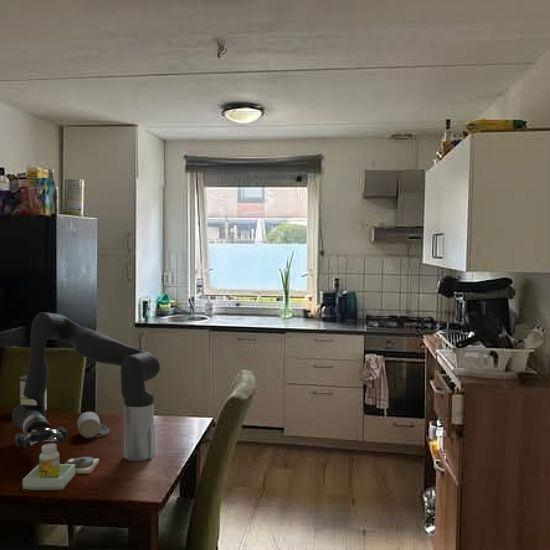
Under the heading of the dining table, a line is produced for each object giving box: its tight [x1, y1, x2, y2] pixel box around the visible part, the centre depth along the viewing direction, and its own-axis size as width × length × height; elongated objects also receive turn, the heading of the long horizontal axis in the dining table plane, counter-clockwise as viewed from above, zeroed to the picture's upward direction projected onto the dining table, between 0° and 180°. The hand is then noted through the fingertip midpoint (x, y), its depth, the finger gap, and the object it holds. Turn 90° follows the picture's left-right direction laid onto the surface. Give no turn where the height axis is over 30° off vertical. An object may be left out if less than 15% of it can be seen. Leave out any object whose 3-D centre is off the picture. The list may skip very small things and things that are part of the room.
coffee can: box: [19, 374, 48, 411], centre depth 225 cm, size 10×10×14 cm
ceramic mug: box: [77, 411, 110, 439], centre depth 195 cm, size 11×8×8 cm
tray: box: [22, 463, 76, 491], centre depth 155 cm, size 11×11×3 cm
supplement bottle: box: [38, 443, 61, 478], centre depth 155 cm, size 5×5×10 cm
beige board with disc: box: [64, 456, 100, 474], centre depth 166 cm, size 9×9×3 cm
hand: (45, 443), depth 161 cm, fingers open, 8 cm apart
